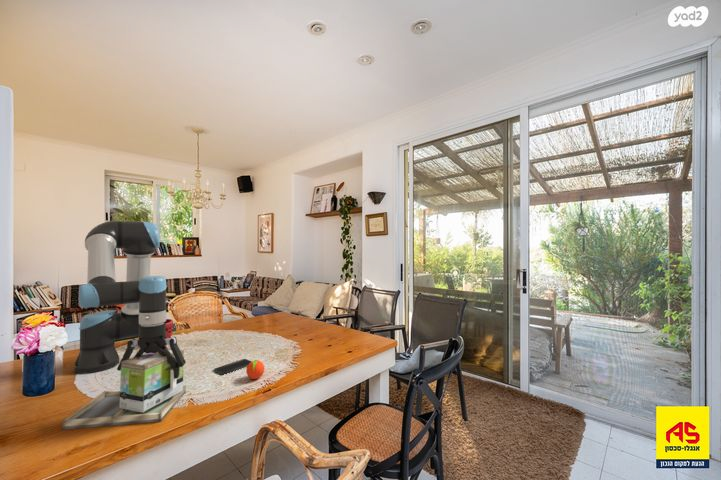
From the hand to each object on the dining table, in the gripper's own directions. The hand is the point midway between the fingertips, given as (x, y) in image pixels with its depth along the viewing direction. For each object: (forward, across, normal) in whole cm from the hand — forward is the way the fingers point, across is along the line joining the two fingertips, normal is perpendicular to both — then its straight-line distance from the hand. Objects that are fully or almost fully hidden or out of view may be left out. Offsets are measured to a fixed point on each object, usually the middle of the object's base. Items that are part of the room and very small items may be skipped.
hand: (152, 389), depth 102 cm
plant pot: (+6, -28, +68) cm, 74 cm away
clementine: (+6, +30, +17) cm, 35 cm away
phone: (+6, +19, +30) cm, 36 cm away
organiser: (+6, -6, 0) cm, 9 cm away
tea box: (+4, 0, 0) cm, 4 cm away
